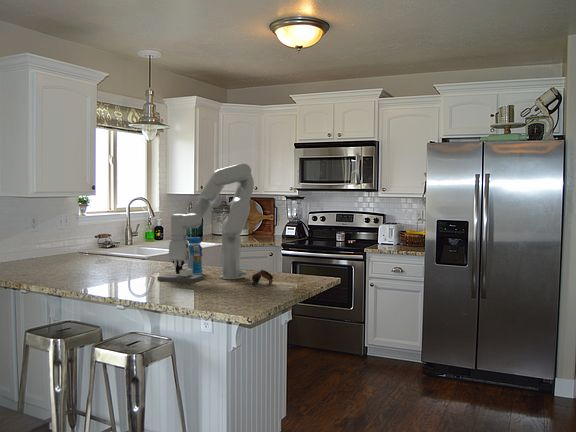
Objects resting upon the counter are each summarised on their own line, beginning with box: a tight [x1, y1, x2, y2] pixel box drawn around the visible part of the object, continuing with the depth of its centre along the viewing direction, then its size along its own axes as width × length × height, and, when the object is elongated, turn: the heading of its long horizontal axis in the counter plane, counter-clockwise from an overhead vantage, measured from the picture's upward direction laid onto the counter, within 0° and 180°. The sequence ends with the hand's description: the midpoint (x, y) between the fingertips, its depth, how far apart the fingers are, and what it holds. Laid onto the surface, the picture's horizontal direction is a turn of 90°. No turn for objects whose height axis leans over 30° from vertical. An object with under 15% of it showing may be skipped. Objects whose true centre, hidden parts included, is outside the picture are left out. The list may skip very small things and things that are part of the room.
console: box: [157, 272, 205, 284], centre depth 266 cm, size 20×12×2 cm, turn 72°
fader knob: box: [180, 267, 192, 277], centre depth 265 cm, size 4×6×4 cm, turn 162°
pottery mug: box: [251, 269, 274, 287], centre depth 252 cm, size 12×10×8 cm
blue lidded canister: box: [187, 236, 204, 275], centre depth 285 cm, size 8×8×20 cm
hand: (179, 273), depth 267 cm, fingers closed
